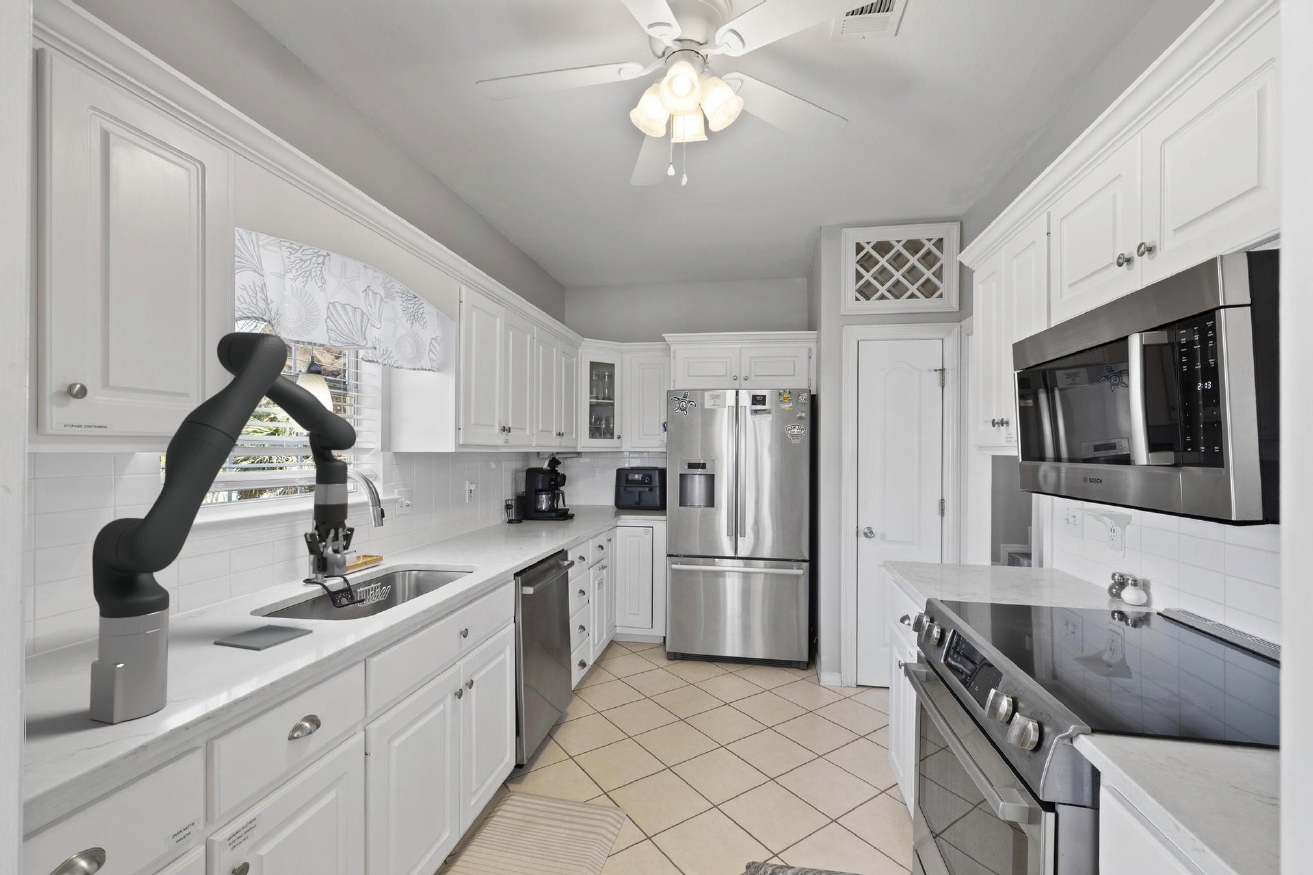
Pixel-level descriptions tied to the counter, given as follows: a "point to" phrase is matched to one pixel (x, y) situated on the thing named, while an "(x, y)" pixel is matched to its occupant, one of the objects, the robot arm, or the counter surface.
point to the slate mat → (263, 637)
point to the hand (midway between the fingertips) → (329, 570)
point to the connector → (331, 564)
